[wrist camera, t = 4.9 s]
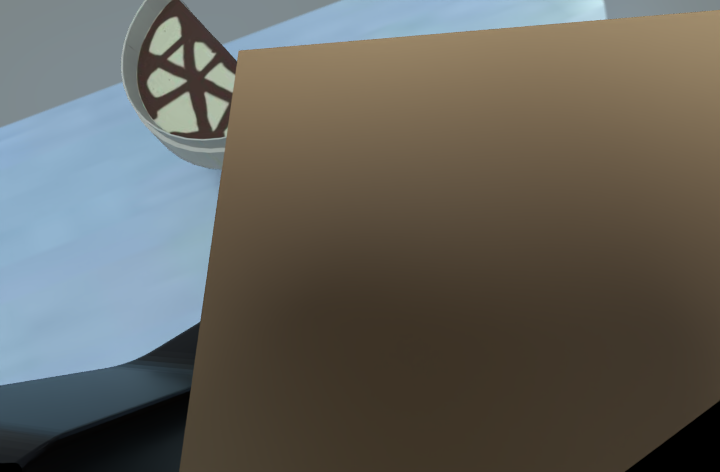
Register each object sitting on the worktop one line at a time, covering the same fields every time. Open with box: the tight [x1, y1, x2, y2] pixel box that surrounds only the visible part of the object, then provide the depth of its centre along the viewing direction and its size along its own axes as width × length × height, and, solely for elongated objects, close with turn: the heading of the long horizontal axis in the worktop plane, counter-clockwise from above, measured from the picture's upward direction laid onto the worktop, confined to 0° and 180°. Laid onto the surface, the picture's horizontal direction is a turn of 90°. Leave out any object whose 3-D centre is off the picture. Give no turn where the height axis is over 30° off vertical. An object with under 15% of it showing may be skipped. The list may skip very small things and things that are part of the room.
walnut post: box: [179, 10, 720, 472], centre depth 9 cm, size 4×4×13 cm
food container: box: [121, 0, 237, 170], centre depth 20 cm, size 12×6×10 cm, turn 41°
